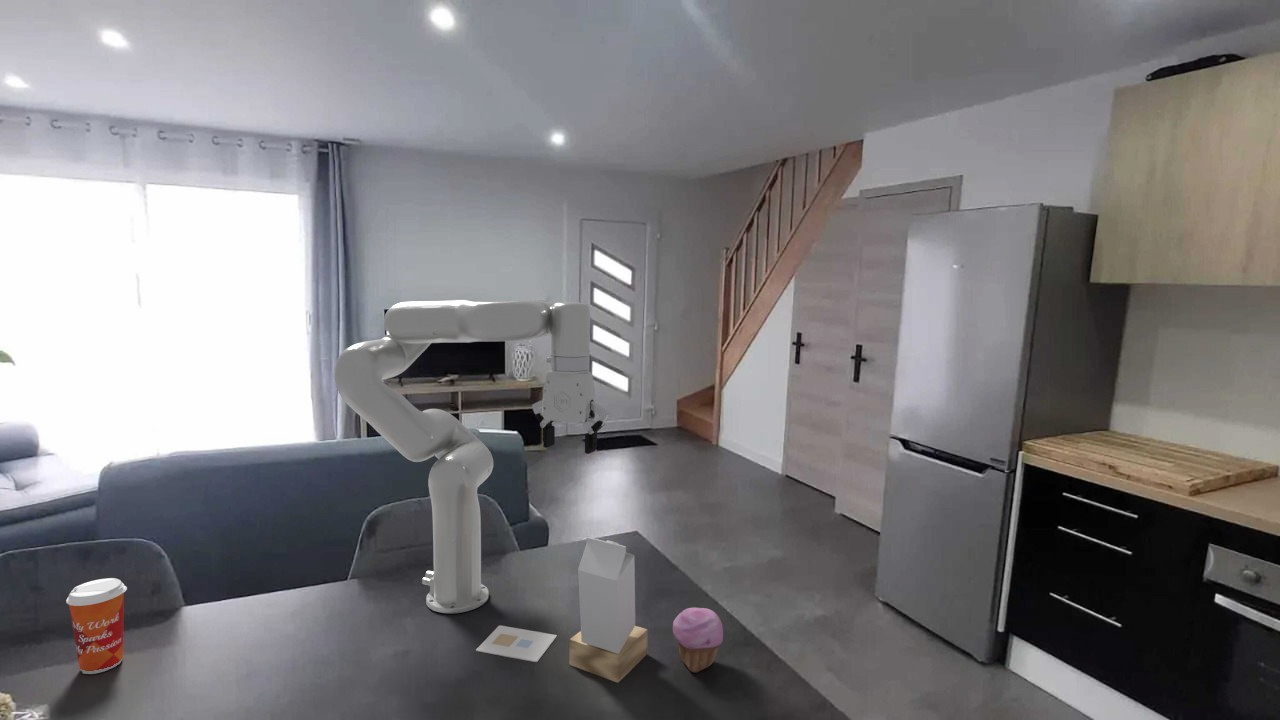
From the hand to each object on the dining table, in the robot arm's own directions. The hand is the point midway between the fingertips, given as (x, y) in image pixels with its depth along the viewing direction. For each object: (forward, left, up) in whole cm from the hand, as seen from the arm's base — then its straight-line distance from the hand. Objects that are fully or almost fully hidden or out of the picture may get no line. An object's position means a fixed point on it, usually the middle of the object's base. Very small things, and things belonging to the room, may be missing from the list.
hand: (569, 449), depth 129 cm
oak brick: (+16, -13, -34) cm, 39 cm away
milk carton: (+17, -14, -28) cm, 36 cm away
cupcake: (+31, -7, -34) cm, 46 cm away
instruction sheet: (-1, -16, -33) cm, 37 cm away
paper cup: (-59, -54, -34) cm, 87 cm away
